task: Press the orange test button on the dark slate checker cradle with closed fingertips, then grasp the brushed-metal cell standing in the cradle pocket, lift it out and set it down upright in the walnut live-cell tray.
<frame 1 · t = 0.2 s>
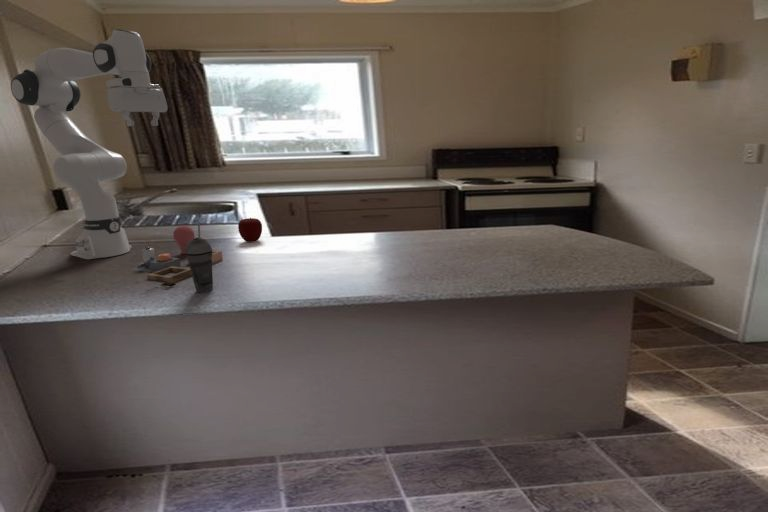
hand: (143, 125, 156), 47 cm above the counter, fingers open, 8 cm apart
beverage cup: (204, 290, 133), on the counter
cell B: (205, 263, 158), point 1 cm above the counter, touching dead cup
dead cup: (206, 265, 158), on the counter
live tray: (171, 280, 144), on the counter
test button: (164, 258, 151), point 5 cm above the counter, slide at 0.0 cm
light bulb: (187, 257, 171), on the counter
cell A: (151, 266, 155), point 1 cm above the counter, touching cradle
apple: (251, 242, 191), on the counter
cradle: (159, 271, 154), on the counter
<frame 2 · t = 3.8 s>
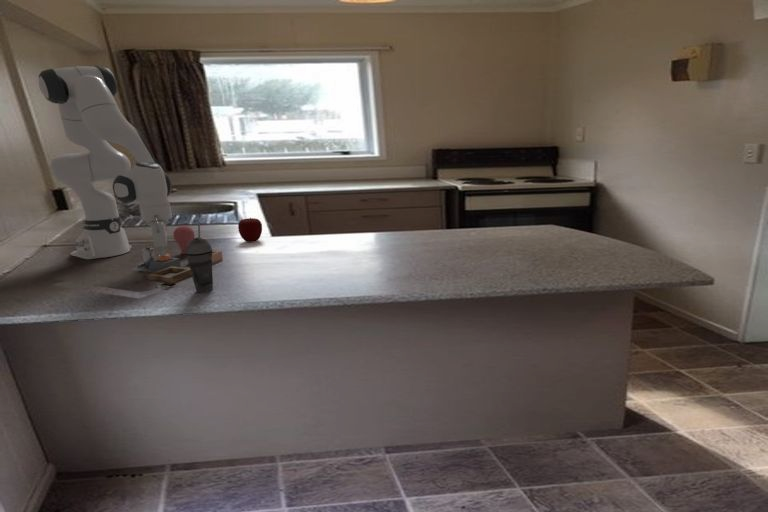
hand: (163, 255, 151), 6 cm above the counter, fingers closed, pressing on test button
test button: (164, 258, 151), point 5 cm above the counter, slide at 0.1 cm, touching gripper
everything else where it was.
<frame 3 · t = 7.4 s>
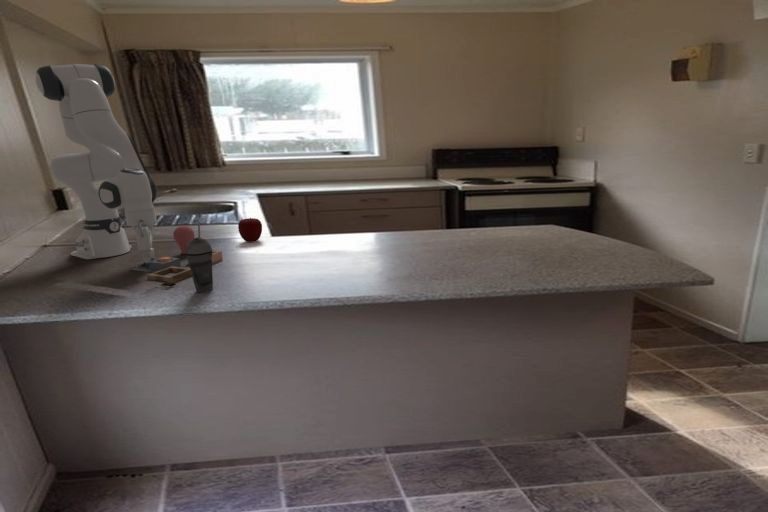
hand: (148, 259, 154), 4 cm above the counter, fingers open, 8 cm apart
test button: (165, 261, 152), point 4 cm above the counter, slide at 1.2 cm
everything else where it was.
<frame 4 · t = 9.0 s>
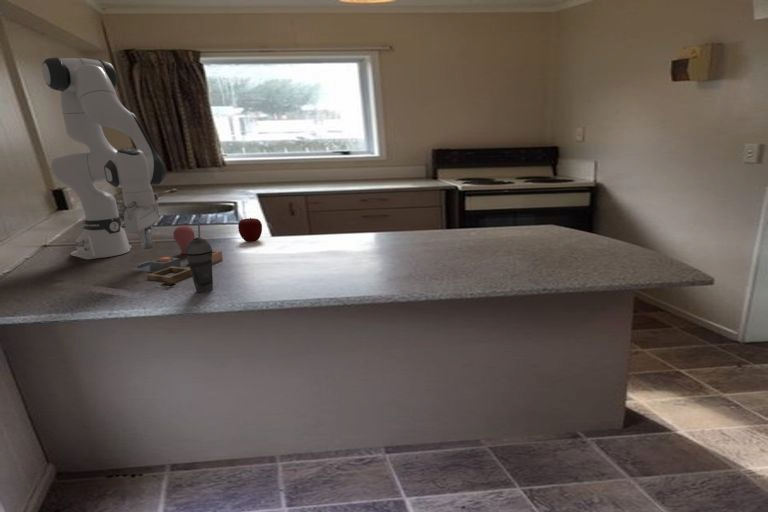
hand: (146, 240, 153), 10 cm above the counter, fingers closed on cell A, 4 cm apart
cell A: (147, 247, 154), point 8 cm above the counter, touching gripper
everything else where it was.
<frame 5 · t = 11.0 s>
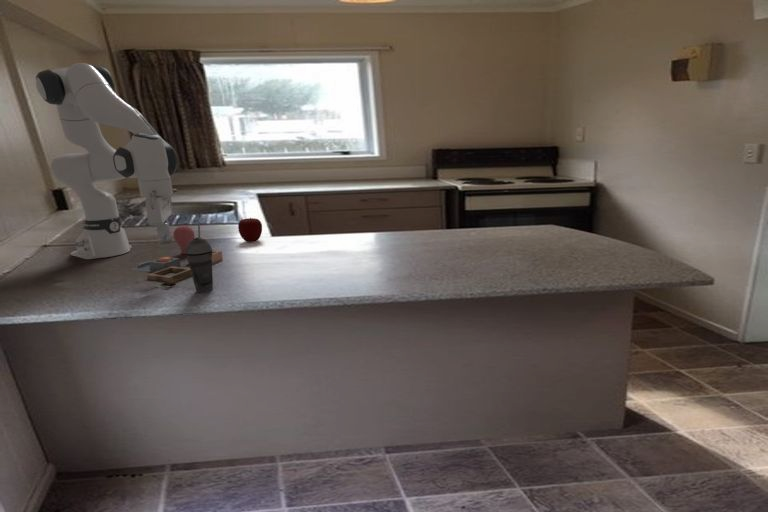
hand: (163, 234, 140), 15 cm above the counter, fingers closed on cell A, 4 cm apart
cell A: (165, 242, 140), point 12 cm above the counter, touching gripper
everything else where it was.
when the fingers open (4 cm above the counter, at t = 13.0 s): cell A moves 1 cm, resting on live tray.
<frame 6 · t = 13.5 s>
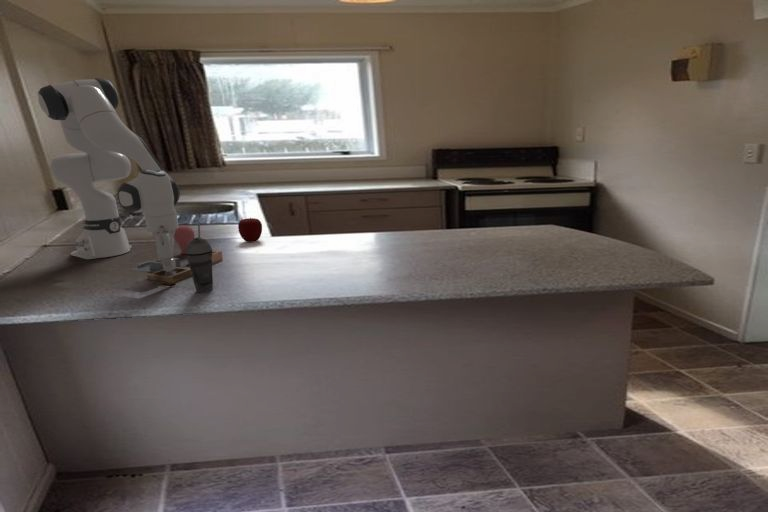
hand: (169, 267, 143), 4 cm above the counter, fingers open, 8 cm apart
cell A: (171, 277, 144), point 1 cm above the counter, touching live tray
everything else where it was.
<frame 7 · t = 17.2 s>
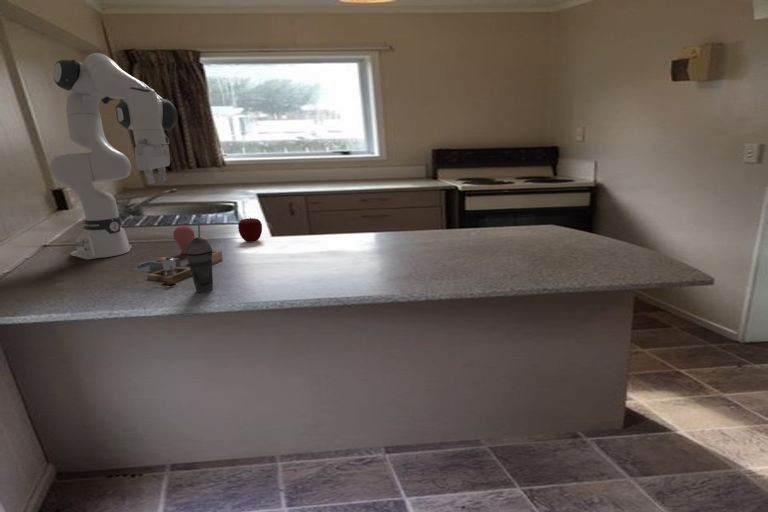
hand: (157, 182, 152), 29 cm above the counter, fingers open, 8 cm apart
nothing on the counter moved.
at the end: cell A 0.3 cm off-centre on the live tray, point 0.8 cm above the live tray's base; cell A tilted 0°; the gripper is holding nothing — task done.
